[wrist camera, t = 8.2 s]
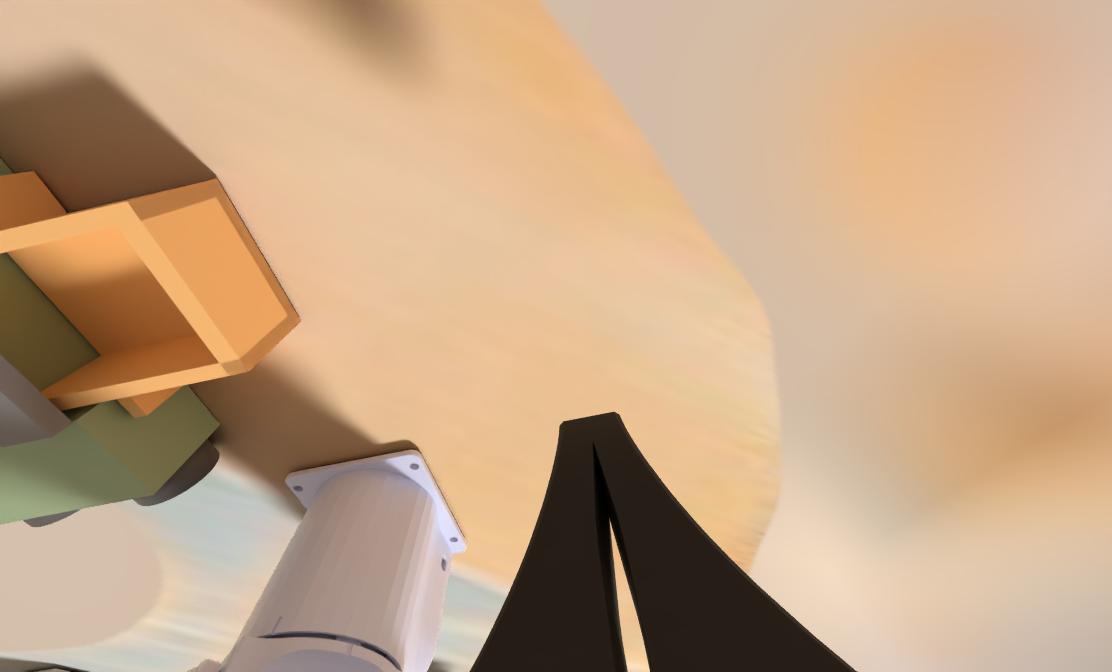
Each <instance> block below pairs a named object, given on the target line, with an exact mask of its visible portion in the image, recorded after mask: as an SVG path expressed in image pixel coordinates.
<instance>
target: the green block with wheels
mask: <svg viewBox="0 0 1112 672" xmlns="http://www.w3.org/2000/svg"><path fill="white" fill-rule="evenodd" d="M9 174H13V172H12V171H11V170H10V169H9V168H8V166H7V165H6V164H5V163H4V161H3V160H2V159H1V158H0V176H3V175H9ZM99 356H101V355H100V354H99V353H98V351H97V350H96V349H95V348H94V347H93V346H92V345H91V344H90V343H89V342H88V341H87V339H86V338H85V337H84V336H83V335H82V334H81V333H80V332H79V331H78V330H77V329H76V327H75V326H74V325H73V324H72V323H71V322H70V321H69V320H68V319H67V318H66V317H65V315H64V314H63V313H62V312H61V311H60V310H59V309H58V308H57V307H56V306H55V305H54V303H53V302H52V301H51V300H50V299H49V298H48V297H47V296H46V295H45V294H44V293H43V291H42V290H41V289H40V288H39V287H38V286H37V285H36V284H35V283H34V282H33V281H32V279H31V278H30V277H29V276H28V275H27V274H26V273H25V272H24V271H23V270H22V269H21V267H20V266H19V265H18V264H17V263H16V262H15V261H14V260H13V259H12V258H11V257H10V255H9V254H8V253H7V252H4V253H0V524H5V523H10V522H15V521H20V520H23V521H24V522H26V523H27V524H29V525H30V526H32V527H41V526H45V525H48V524H52V523H54V522H57V521H59V520H61V519H63V518H66V517H68V516H70V515H72V514H73V513H75V512H77V511H79V510H80V509H83V508H88V507H93V506H99V505H104V504H109V503H114V502H119V501H125V500H130V499H133V500H134V501H135V502H137V503H138V504H139V505H141V506H151V505H155V504H159V503H162V502H164V501H167V500H169V499H171V498H174V497H176V496H178V495H179V494H181V493H183V492H185V491H186V490H188V489H189V488H191V487H192V486H194V485H195V484H196V483H198V482H199V481H200V480H202V479H203V478H204V477H205V476H206V475H207V474H208V473H209V472H210V471H211V470H212V469H213V468H214V466H215V465H216V463H217V462H218V460H219V452H218V451H217V450H216V448H215V447H214V446H213V445H212V444H211V443H210V441H209V440H208V439H207V438H208V437H209V436H210V435H211V434H212V433H213V432H214V431H215V430H216V429H217V428H218V427H219V426H220V423H219V422H218V421H217V420H216V419H215V417H214V416H213V415H212V414H211V413H210V411H209V410H208V409H207V408H206V407H205V405H204V404H203V403H202V402H201V400H200V399H199V398H198V397H197V396H196V394H195V393H194V392H193V391H192V390H191V388H190V387H189V386H188V385H183V386H182V387H181V388H180V389H179V390H177V391H176V392H175V393H174V394H173V395H171V396H170V397H169V398H168V399H167V400H165V401H164V402H163V403H162V404H160V405H159V406H158V407H157V408H156V409H154V410H153V411H152V412H151V413H150V414H148V415H147V416H142V417H137V418H134V417H133V416H132V415H131V414H130V413H129V412H128V411H127V410H126V409H125V408H124V407H123V406H122V405H121V404H120V403H119V402H118V401H117V400H116V399H115V400H110V401H105V402H101V403H96V404H91V405H86V406H81V407H76V408H71V409H67V410H62V411H60V410H59V409H58V408H57V407H56V406H55V405H54V404H53V403H52V402H50V401H49V400H48V399H47V398H46V397H45V396H44V395H43V394H42V393H41V391H43V390H44V389H46V388H48V387H49V386H51V385H53V384H54V383H56V382H58V381H59V380H61V379H63V378H64V377H66V376H68V375H69V374H71V373H73V372H74V371H76V370H78V369H79V368H81V367H83V366H84V365H86V364H88V363H89V362H91V361H93V360H94V359H96V358H98V357H99Z"/></svg>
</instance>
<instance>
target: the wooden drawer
mask: <svg viewBox="0 0 1112 672" xmlns="http://www.w3.org/2000/svg"><path fill="white" fill-rule="evenodd" d="M4 252H7V253H8V254H9V255H10V257H11V258H12V259H13V260H14V261H15V262H16V263H17V264H18V265H19V266H20V267H21V269H22V270H23V271H24V272H25V273H26V274H27V275H28V276H29V277H30V278H31V279H32V281H33V282H34V283H35V284H36V285H37V286H38V287H39V288H40V289H41V290H42V291H43V293H44V294H45V295H46V296H47V297H48V298H49V299H50V300H51V301H52V302H53V303H54V305H55V306H56V307H57V308H58V309H59V310H60V311H61V312H62V313H63V314H64V315H65V317H66V318H67V319H68V320H69V321H70V322H71V323H72V324H73V325H74V326H75V327H76V329H77V330H78V331H79V332H80V333H81V334H82V335H83V336H84V337H85V338H86V339H87V341H88V342H89V343H90V344H91V345H92V346H93V347H94V348H95V349H96V350H97V351H98V353H99V354H100V355H101V356H99V357H98V358H96V359H94V360H93V361H91V362H89V363H88V364H86V365H84V366H83V367H81V368H79V369H78V370H76V371H74V372H73V373H71V374H69V375H68V376H66V377H64V378H63V379H61V380H59V381H58V382H56V383H54V384H53V385H51V386H49V387H48V388H46V389H44V390H43V391H41V393H42V394H43V395H44V396H45V397H46V398H47V399H48V400H49V401H50V402H52V403H53V404H54V405H55V406H56V407H57V408H58V409H59V410H60V411H62V410H67V409H71V408H76V407H81V406H86V405H91V404H96V403H101V402H105V401H110V400H115V399H116V400H117V401H118V402H119V403H120V404H121V405H122V406H123V407H124V408H125V409H126V410H127V411H128V412H129V413H130V414H131V415H132V416H133V417H134V418H137V417H142V416H147V415H148V414H150V413H151V412H152V411H153V410H154V409H156V408H157V407H158V406H159V405H160V404H162V403H163V402H164V401H165V400H167V399H168V398H169V397H170V396H171V395H173V394H174V393H175V392H176V391H177V390H179V389H180V388H181V387H182V386H183V385H188V384H193V383H197V382H202V381H207V380H212V379H217V378H222V377H226V376H231V375H236V374H241V373H246V372H249V371H250V370H251V369H252V368H253V367H254V366H255V365H256V364H257V363H258V362H259V361H261V360H262V359H263V358H264V357H265V356H266V355H267V354H268V353H269V352H270V351H271V350H272V349H273V348H274V347H275V346H276V345H277V344H278V343H279V342H280V341H281V340H282V339H283V338H284V337H285V336H286V335H287V334H288V333H289V332H290V331H291V330H292V329H293V328H294V327H295V326H296V325H298V324H299V323H300V322H301V320H300V318H299V317H298V315H297V313H296V312H295V310H294V308H293V307H292V305H291V303H290V302H289V300H288V298H287V296H286V295H285V293H284V291H283V290H282V288H281V286H280V285H279V283H278V281H277V279H276V278H275V276H274V274H273V273H272V271H271V269H270V268H269V266H268V264H267V263H266V261H265V259H264V257H263V256H262V254H261V252H260V251H259V249H258V247H257V246H256V244H255V242H254V240H253V239H252V237H251V235H250V234H249V232H248V230H247V229H246V227H245V225H244V224H243V222H242V220H241V218H240V217H239V215H238V213H237V212H236V210H235V208H234V207H233V205H232V203H231V202H230V200H229V198H228V196H227V195H226V193H225V191H224V190H223V188H222V186H221V185H220V183H219V181H218V179H217V178H216V179H212V180H208V181H203V182H199V183H195V184H191V185H186V186H182V187H178V188H174V189H169V190H165V191H161V192H156V193H152V194H148V195H144V196H139V197H135V198H131V199H127V200H122V201H118V202H114V203H109V204H105V205H101V206H97V207H92V208H88V209H84V210H79V211H75V212H71V213H67V212H66V211H65V210H64V208H63V207H62V206H61V205H60V203H59V202H58V201H57V200H56V198H55V197H54V196H53V195H52V193H51V192H50V191H49V190H48V188H47V187H46V186H45V185H44V183H43V182H42V181H41V180H40V178H39V177H38V176H37V175H36V173H35V172H34V171H30V172H23V173H16V174H9V175H3V176H0V253H4Z"/></svg>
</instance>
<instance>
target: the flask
mask: <svg viewBox="0 0 1112 672" xmlns="http://www.w3.org/2000/svg"><path fill="white" fill-rule="evenodd" d="M36 672H69V671H65V670H60V669H56V668H55V669H49V670H42V671H36Z"/></svg>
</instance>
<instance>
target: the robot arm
mask: <svg viewBox="0 0 1112 672" xmlns="http://www.w3.org/2000/svg"><path fill="white" fill-rule="evenodd" d="M413 463H415V464H418V465H415V464H413ZM285 483H286V484H287V486H288V487H289V488H290V490H291V491H292V492H293V493H294V495H295V496H296V497H297V498H298V500H299V501H300V502H301V503H302V505H303V506H304V507H305V508H306V510H307V512H306V513H305V515H304V517H303V519H302V521H301V523H300V525H299V526H298V528H297V530H296V532H295V534H294V536H293V538H292V539H291V541H290V543H289V545H288V547H287V549H286V551H285V552H284V554H283V556H282V558H281V560H280V562H279V563H278V565H277V567H276V569H275V571H274V573H273V575H272V576H271V578H270V580H269V582H268V584H267V586H266V588H265V589H264V591H263V593H262V595H261V597H260V599H259V600H258V602H257V604H256V606H255V608H254V610H253V612H252V613H251V615H250V617H249V619H248V621H247V623H246V625H245V626H244V628H243V630H242V632H241V634H240V636H239V637H238V639H237V641H236V643H235V645H234V647H233V649H232V650H231V652H230V653H229V654H228V655H227V657H226V658H225V659H224V661H223V662H222V663H221V664H220V662H216V661H213V660H210V659H208V660H204V661H203V662H201V663H200V664H199V666H198V667H197V668H193V669H191V670H189V671H187V672H427V670H428V668H429V666H430V664H431V662H432V660H433V657H434V654H435V651H436V647H437V642H438V636H439V630H440V624H441V618H442V613H443V607H444V601H445V595H446V589H447V583H448V577H449V571H450V565H451V560H452V554H456V553H461V552H464V551H465V550H466V547H467V542H466V540H465V538H464V536H463V535H462V533H461V531H460V529H459V527H458V525H457V523H456V521H455V519H454V517H453V515H452V513H451V511H450V509H449V508H448V506H447V504H446V502H445V500H444V498H443V496H442V494H441V492H440V490H439V488H438V486H437V484H436V482H435V481H434V479H433V477H432V475H431V473H430V471H429V469H428V467H427V465H426V463H425V461H424V459H423V457H422V455H421V454H420V453H419V452H418V451H416V450H406V451H401V452H395V453H390V454H385V455H380V456H374V457H369V458H364V459H359V460H354V461H348V462H343V463H338V464H333V465H328V466H322V467H317V468H312V469H307V470H301V471H296V472H292V473H289V474H288V476H287V477H286V479H285ZM609 518H610V520H609ZM610 522H611V525H612V529H613V532H614V536H615V539H616V543H617V546H618V550H619V553H620V557H621V560H622V564H623V567H624V571H625V574H626V578H627V581H628V585H629V588H630V592H631V595H632V599H633V602H634V606H635V609H636V613H637V616H638V620H639V624H640V628H641V632H642V636H643V640H644V645H645V649H646V654H647V659H648V664H649V669H650V672H857V671H855V670H854V669H853V668H852V667H851V666H849V665H848V664H847V663H846V662H845V661H844V660H842V659H841V658H840V657H839V656H838V655H836V654H835V653H834V652H833V651H832V650H830V649H829V648H828V647H827V646H826V645H824V644H823V643H822V642H821V641H820V640H818V639H817V638H816V637H815V636H814V635H813V634H811V633H810V632H809V631H808V630H807V629H806V628H805V627H804V626H802V625H801V624H800V623H799V622H798V621H797V620H796V619H795V618H794V617H793V616H791V615H790V614H789V613H788V612H787V611H786V610H785V609H784V608H782V607H781V606H780V605H779V604H778V603H777V602H776V601H775V600H774V599H772V598H771V597H770V596H769V595H768V594H767V593H766V592H765V591H764V590H763V589H761V588H760V587H759V586H758V585H757V584H756V583H755V582H754V581H753V580H752V579H751V578H750V577H749V576H748V575H747V574H746V573H745V572H744V571H743V570H742V569H741V568H740V567H739V566H738V565H737V564H736V563H735V562H734V561H732V560H731V559H730V558H729V557H728V555H727V554H726V553H725V552H724V551H723V550H722V549H721V548H720V547H719V546H718V545H717V544H716V543H715V542H714V541H713V540H712V539H711V538H710V537H709V536H708V535H707V534H706V532H705V531H704V530H703V529H702V528H701V527H700V526H699V525H698V524H697V523H696V521H695V520H694V519H693V518H692V517H691V516H690V515H689V513H688V512H687V511H686V510H685V509H684V508H683V506H682V505H681V504H680V503H679V502H678V501H677V499H676V498H675V497H674V496H673V495H672V493H671V492H670V491H669V490H668V488H667V487H666V486H665V485H664V483H663V482H662V481H661V479H660V478H659V477H658V475H657V474H656V473H655V471H654V470H653V469H652V467H651V466H650V465H649V463H648V462H647V461H646V459H645V458H644V456H643V455H642V453H641V452H640V450H639V449H638V447H637V446H636V444H635V443H634V441H633V440H632V438H631V436H630V435H629V433H628V431H627V429H626V428H625V426H624V424H623V422H622V420H621V417H620V415H619V414H617V413H616V412H611V413H605V414H600V415H595V416H590V417H584V418H579V419H574V420H569V421H563V423H562V424H561V425H560V429H559V438H558V445H557V451H556V456H555V460H554V465H553V469H552V473H551V477H550V480H549V484H548V488H547V491H546V495H545V498H544V502H543V505H542V508H541V511H540V514H539V517H538V520H537V523H536V526H535V529H534V531H533V534H532V537H531V540H530V543H529V545H528V548H527V551H526V553H525V556H524V558H523V561H522V563H521V566H520V568H519V571H518V573H517V575H516V578H515V580H514V582H513V585H512V587H511V589H510V592H509V594H508V596H507V598H506V600H505V602H504V604H503V607H502V609H501V611H500V613H499V615H498V617H497V619H496V621H495V624H494V626H493V628H492V630H491V632H490V634H489V636H488V638H487V640H486V642H485V644H484V646H483V648H482V650H481V652H480V654H479V656H478V657H477V659H476V661H475V663H474V665H473V667H472V668H471V670H470V672H628V671H627V665H626V659H625V654H624V648H623V642H622V635H621V627H620V620H619V610H618V600H617V590H616V580H615V570H614V560H613V550H612V540H611V530H610Z"/></svg>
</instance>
